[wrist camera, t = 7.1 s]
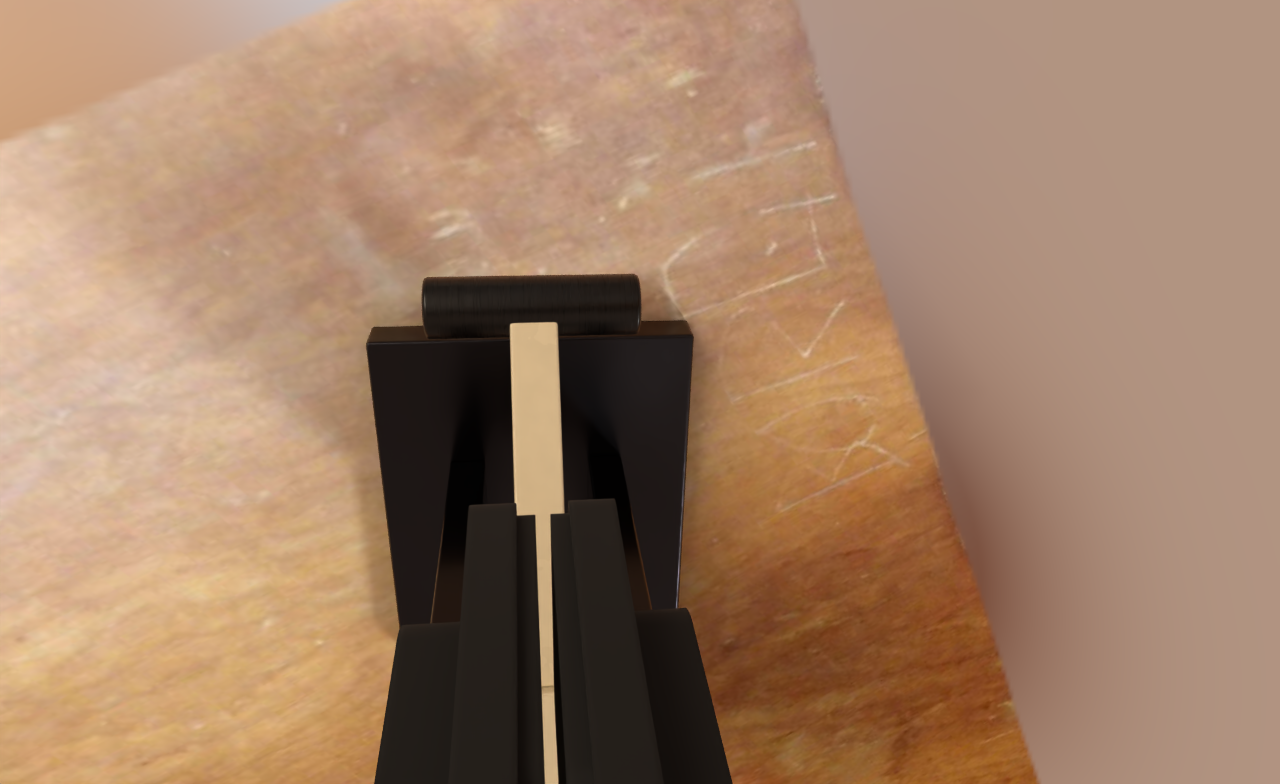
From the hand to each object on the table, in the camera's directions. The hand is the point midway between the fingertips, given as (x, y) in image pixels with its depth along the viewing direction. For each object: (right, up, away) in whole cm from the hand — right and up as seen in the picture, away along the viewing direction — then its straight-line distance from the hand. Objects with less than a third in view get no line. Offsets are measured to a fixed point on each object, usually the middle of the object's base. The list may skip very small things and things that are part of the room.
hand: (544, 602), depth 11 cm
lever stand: (-2, -1, +18) cm, 18 cm away
